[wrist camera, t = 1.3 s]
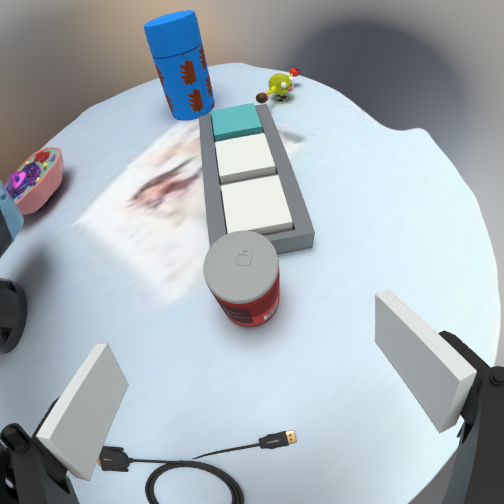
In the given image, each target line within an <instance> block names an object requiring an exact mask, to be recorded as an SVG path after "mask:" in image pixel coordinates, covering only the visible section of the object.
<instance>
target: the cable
mask: <svg viewBox="0 0 504 504" xmlns="http://www.w3.org/2000/svg"><path fill="white" fill-rule="evenodd" d="M292 443H296V438H295V434H294V430H292V431H288V432H286V431H283V432H280V433H276V434H269V435H267V436H265V437H263V438H260V439H259V443H257V444H252V445H247V446H242V447H236V448H231V449H226V450H221V451H216V452H212V453H208V454H204V455H201V456H199V457H196V458H200V457H203V456H208V455H213V454H217V453H223V452H229V451H234V450H240V449H246V448H251V447H256V446H260V447H261V449H263V448H269V449H274V448H277V447H282V446H288V445H289V444H292ZM196 458H194V459H196ZM191 460H192V459H191ZM132 462H152V463H168V464H165V465H163V466H161V467H159V468H157V469H156V470H155V471H153V472H152V474H151V475H150V476H149V478H148V480H147V482H146V486H145V493H146V497H147V500H148V502H149V503H150V504H159V503H158V502H157V500H156V498H155V496H154V491H153V487H154V483H155V480H156V479H157V478H158V476H159V475H161V474H162V473H163V472H165V471H167V470H169V469H173V468H177V467H192V468H198V469H202V470H205V471H207V472H210V473H212V474H214V475H215V476H217V477H219V478H220V479H221V480H222V481H224V482H225V483H226V485H227V486H228V487H229V489H230V491H231V494H232V504H244V498H243V493H242V491H241V489H240V487H239V486H238V484H237V483H236V482H235V481H234V480H233V479H232V478H231V477H230V476H229V475H228V474H226V473H225V472H223V471H222V470H220V469H218V468H216V467H214V466H211V465H208V464H205V463H201V462H195V461H183V460H182V461H161V460H138V459H132V458H128V456H127V454H126V453H124V452H123V448H121V447H108V446H103V447H102V450H101V452H100V455H99V457H98V464H99V466H101V468H102V471H107V470H110V471H120V472H128V469H124V468H126V467H128V466H129V463H132Z"/></svg>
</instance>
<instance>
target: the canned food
mask: <svg viewBox="0 0 504 504" xmlns="http://www.w3.org/2000/svg"><path fill="white" fill-rule="evenodd" d="M204 276H205V280H206V283H207V285H208V287H209V289H210V291H211V292H212V294H213V295H214V297H215V298H216V300H217V301H218V303H219V304H220V306H221V307H222V309H223V310H224V312H225V313H226V315H227V316H228V317H229V318H230V319H231V320H232V321H233V322H235V323H237V324H239V325H242V326H256V325H259V324H262V323H263V322H265V321H267V320H268V319H269V318H270V317H271V316H272V315H273V314H274V312H275V311H276V309H277V306H278V303H279V261H278V256H277V253H276V250H275V248H274V246H273V245H272V243H271V242H270V241H269V240H268V239H267V238H265V237H264V236H263V235H261V234H258V233H256V232H252V231H244V230H242V231H235V232H232V233H229V234H226V235H224V236H223V237H221V238H220V239H218V240H217V241H216V242H215V243H214V244H213V245H212V246H211V248H210V249H209V251H208V253H207V255H206V257H205V261H204Z"/></svg>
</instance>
